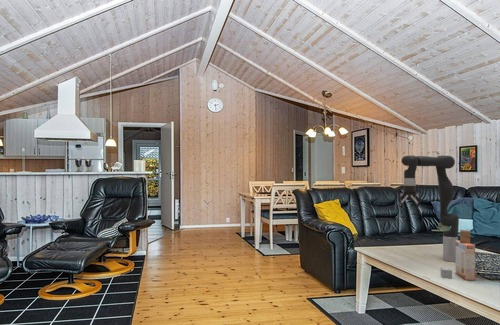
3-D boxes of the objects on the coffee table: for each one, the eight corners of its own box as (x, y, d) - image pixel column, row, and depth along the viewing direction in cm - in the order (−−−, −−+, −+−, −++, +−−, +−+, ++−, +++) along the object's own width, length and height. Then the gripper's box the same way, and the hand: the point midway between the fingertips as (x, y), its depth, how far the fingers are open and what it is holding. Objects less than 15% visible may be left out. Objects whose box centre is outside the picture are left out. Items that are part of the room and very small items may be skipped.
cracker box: (475, 280, 208) (475, 245, 208) (464, 280, 209) (464, 244, 209) (465, 273, 222) (465, 240, 222) (455, 273, 223) (455, 239, 223)
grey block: (440, 275, 218) (440, 267, 218) (449, 276, 217) (449, 268, 217) (442, 278, 213) (442, 269, 213) (452, 278, 212) (452, 270, 212)
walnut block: (460, 241, 219) (460, 229, 219) (469, 242, 216) (469, 230, 217) (460, 242, 215) (460, 231, 215) (470, 243, 212) (470, 231, 212)
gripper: (421, 185, 241) (421, 209, 240) (398, 184, 248) (398, 207, 247) (421, 185, 234) (420, 210, 234) (397, 184, 241) (397, 208, 241)
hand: (409, 208), depth 241 cm, fingers open, 8 cm apart
